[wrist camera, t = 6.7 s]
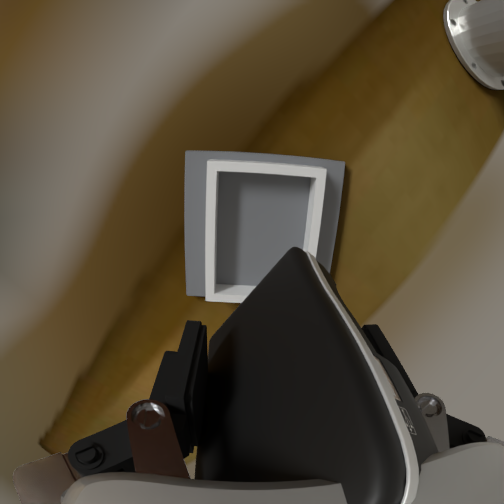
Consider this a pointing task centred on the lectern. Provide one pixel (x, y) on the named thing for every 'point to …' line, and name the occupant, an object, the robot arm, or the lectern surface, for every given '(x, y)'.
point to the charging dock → (255, 217)
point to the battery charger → (308, 395)
